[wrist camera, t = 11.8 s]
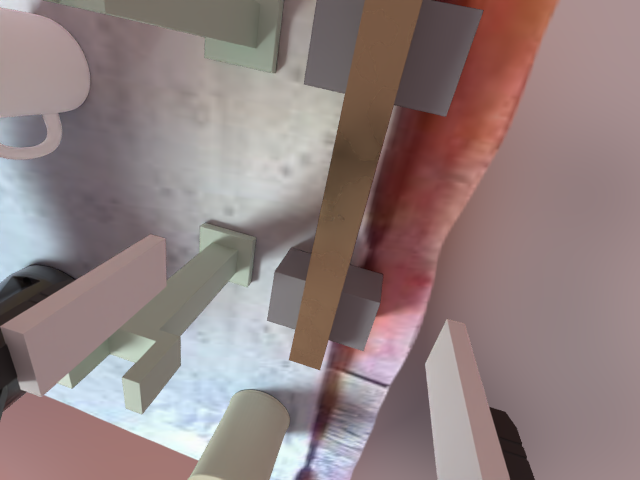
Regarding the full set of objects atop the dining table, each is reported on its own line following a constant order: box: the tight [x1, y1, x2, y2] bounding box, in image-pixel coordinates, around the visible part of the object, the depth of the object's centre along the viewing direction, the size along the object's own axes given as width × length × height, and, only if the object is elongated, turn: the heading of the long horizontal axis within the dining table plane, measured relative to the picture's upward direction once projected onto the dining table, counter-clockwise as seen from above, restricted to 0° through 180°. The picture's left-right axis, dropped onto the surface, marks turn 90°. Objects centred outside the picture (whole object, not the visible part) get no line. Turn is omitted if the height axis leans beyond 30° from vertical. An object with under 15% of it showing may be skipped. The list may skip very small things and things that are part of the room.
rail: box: [289, 0, 423, 370], centre depth 25 cm, size 30×3×3 cm, turn 169°
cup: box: [0, 7, 90, 160], centre depth 29 cm, size 8×12×10 cm
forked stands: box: [44, 0, 284, 414], centre depth 24 cm, size 28×6×18 cm, turn 169°
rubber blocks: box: [267, 0, 484, 351], centre depth 29 cm, size 28×10×5 cm, turn 169°
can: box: [188, 390, 290, 480], centre depth 43 cm, size 9×9×12 cm
